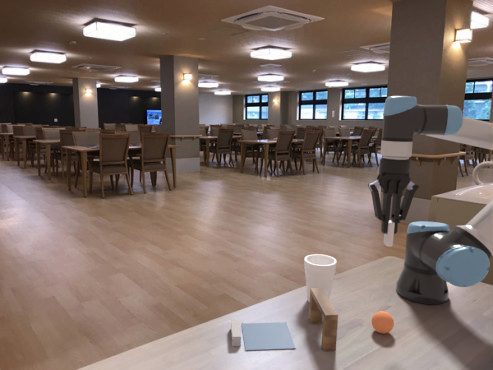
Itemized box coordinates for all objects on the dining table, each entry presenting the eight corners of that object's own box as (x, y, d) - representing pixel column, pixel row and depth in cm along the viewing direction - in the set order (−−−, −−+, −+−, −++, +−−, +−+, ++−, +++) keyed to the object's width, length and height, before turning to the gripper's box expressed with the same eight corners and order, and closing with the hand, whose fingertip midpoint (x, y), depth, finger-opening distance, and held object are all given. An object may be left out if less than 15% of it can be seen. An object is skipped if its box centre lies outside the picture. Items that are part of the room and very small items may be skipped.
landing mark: (286, 322, 108) (286, 322, 108) (295, 348, 97) (295, 348, 97) (241, 324, 107) (241, 323, 107) (245, 350, 96) (245, 349, 96)
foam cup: (334, 310, 116) (336, 267, 113) (301, 306, 118) (303, 264, 115) (333, 295, 125) (336, 255, 123) (303, 292, 127) (305, 253, 124)
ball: (387, 326, 108) (389, 306, 107) (396, 337, 102) (398, 317, 101) (367, 326, 107) (369, 307, 106) (375, 338, 102) (377, 318, 101)
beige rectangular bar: (238, 328, 105) (238, 319, 105) (240, 346, 98) (240, 336, 97) (230, 328, 105) (230, 319, 105) (232, 346, 97) (232, 336, 97)
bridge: (319, 319, 111) (321, 287, 109) (335, 350, 96) (338, 314, 95) (308, 319, 110) (310, 288, 109) (323, 350, 96) (325, 315, 94)
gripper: (413, 156, 108) (405, 240, 112) (365, 155, 107) (359, 240, 112) (427, 159, 101) (418, 249, 105) (375, 158, 100) (368, 249, 104)
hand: (387, 244), depth 108 cm, fingers closed
